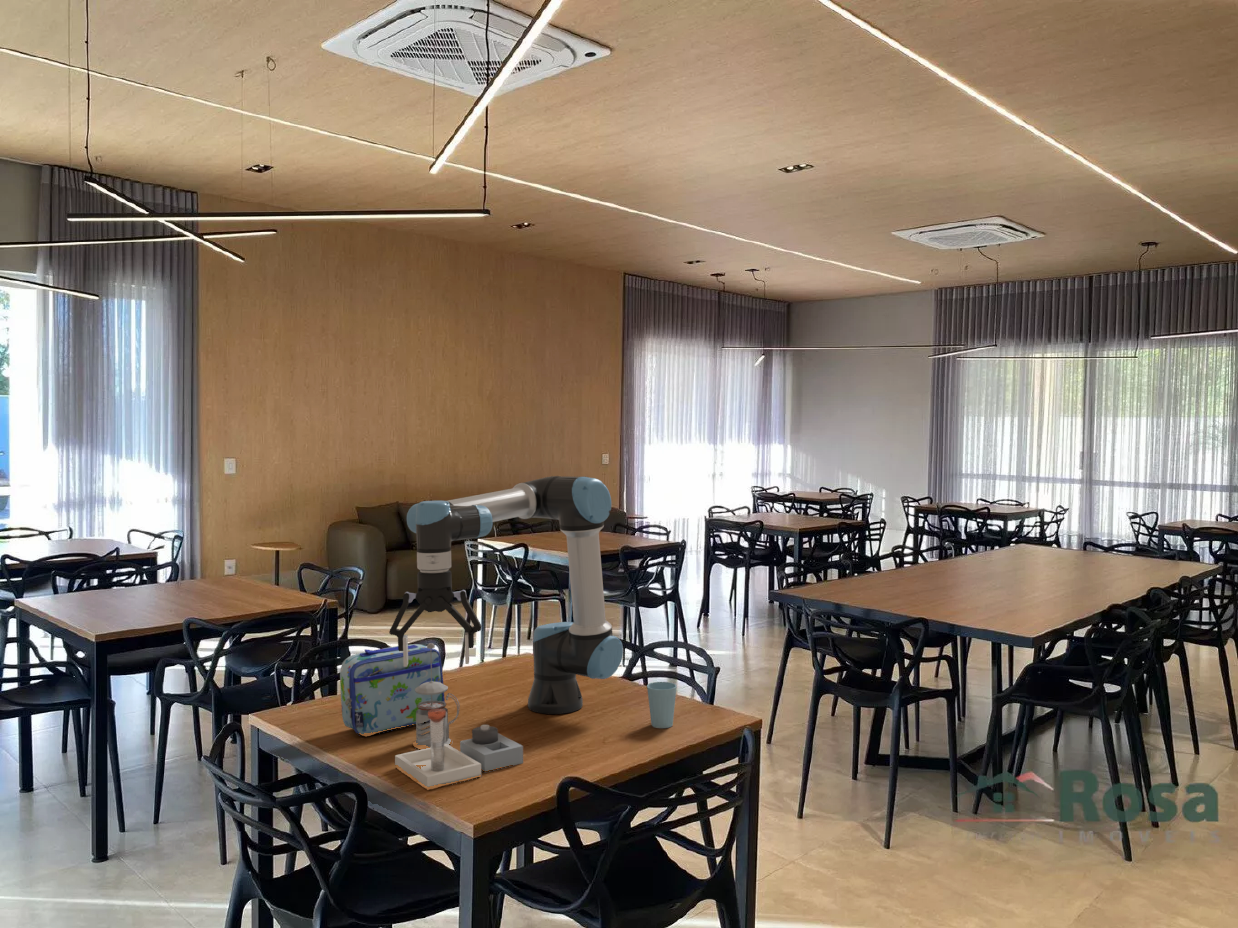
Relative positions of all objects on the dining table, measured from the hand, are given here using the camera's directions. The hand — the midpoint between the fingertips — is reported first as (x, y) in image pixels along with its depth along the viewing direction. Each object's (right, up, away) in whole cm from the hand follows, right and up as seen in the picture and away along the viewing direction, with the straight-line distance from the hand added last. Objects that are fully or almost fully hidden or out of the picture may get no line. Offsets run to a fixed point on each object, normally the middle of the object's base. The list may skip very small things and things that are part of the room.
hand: (436, 663), depth 216 cm
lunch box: (-18, -24, +34) cm, 45 cm away
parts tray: (0, -25, +1) cm, 25 cm away
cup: (+52, -23, +34) cm, 66 cm away
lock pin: (0, -24, +1) cm, 24 cm away
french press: (-4, -24, +21) cm, 32 cm away
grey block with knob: (+11, -24, +8) cm, 28 cm away
